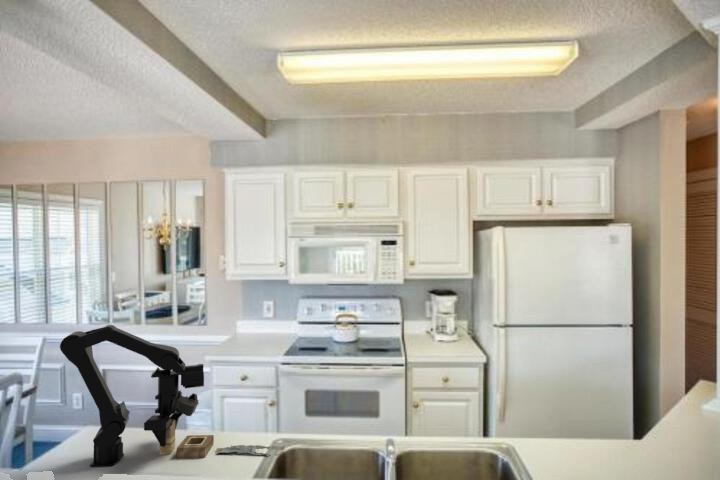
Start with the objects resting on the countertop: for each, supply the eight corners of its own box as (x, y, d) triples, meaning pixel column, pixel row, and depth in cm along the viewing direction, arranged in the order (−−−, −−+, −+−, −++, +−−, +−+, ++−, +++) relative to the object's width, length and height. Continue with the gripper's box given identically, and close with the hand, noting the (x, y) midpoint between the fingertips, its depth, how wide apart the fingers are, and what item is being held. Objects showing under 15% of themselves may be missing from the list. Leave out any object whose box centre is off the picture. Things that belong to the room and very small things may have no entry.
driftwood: (211, 456, 124) (212, 449, 124) (221, 446, 130) (221, 439, 130) (279, 460, 122) (279, 453, 122) (285, 449, 129) (285, 442, 129)
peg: (159, 454, 124) (159, 424, 124) (164, 449, 127) (164, 419, 127) (170, 454, 124) (171, 424, 124) (175, 449, 127) (175, 419, 127)
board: (176, 458, 122) (176, 447, 122) (187, 445, 130) (187, 435, 130) (205, 457, 122) (205, 446, 122) (213, 444, 130) (213, 434, 130)
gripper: (183, 400, 117) (182, 456, 117) (205, 380, 136) (204, 428, 135) (143, 401, 117) (142, 457, 116) (170, 380, 135) (169, 428, 135)
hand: (167, 441), depth 126 cm, fingers open, 6 cm apart
